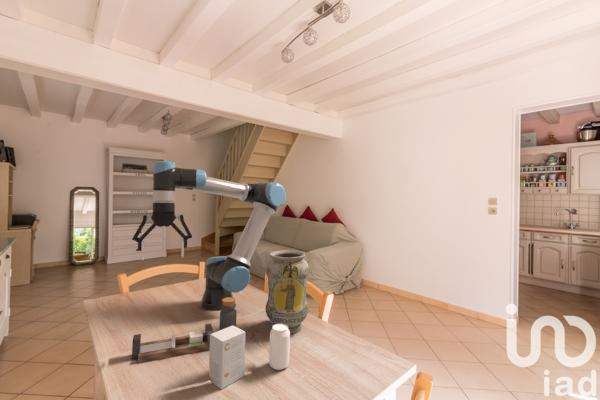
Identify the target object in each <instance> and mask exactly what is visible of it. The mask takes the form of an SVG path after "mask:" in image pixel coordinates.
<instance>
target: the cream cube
mask: <svg viewBox="0 0 600 400" xmlns="http://www.w3.org/2000/svg"><path fill="white" fill-rule="evenodd" d="M188 333H189V334H188V335H189V344H195V343H201V342H203V334H202V333H203V330H197V331H191V332H188Z"/></svg>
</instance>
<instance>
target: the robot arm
mask: <svg viewBox="0 0 600 400" xmlns="http://www.w3.org/2000/svg"><path fill="white" fill-rule="evenodd" d="M152 174H153V175H152V178H153V181H152V182H153V183H152V201H153V203H152V214H151V215H147V214H143V216H142V222H141V223H140V225H139V226H138V228H137V229H136V232H135V233H134V235H133V237H132V238H131V240H132V241H133V242H137V250H138V251H141V254H140V255H141V257H140V260H141V261H144V260H145V240H144V239H146V237H147V236H148V235H149V234H150V233H151V232H152V231H153V230H154V229H155V228H156V227H159V228H162V227H166V228H169V227H170V226H171V228H173V229H174V230H175V231H176V232H177V233H178V235H180V237H182V239H181V250H180V251H181V253H180V254H181V258H184V257H185V249H187V247H188V240H189V239H192V238H193V235H192V233H191V231H190V229H189V228H188V225H187V224H186V222H185V219H184V214H179V215H178V214H177V215H176V211H175V210H176V208H175V207H176V205H175V204H176V203H175V201H176V189H184V190H190V191H196V192H200V193H201V192H202V193H206V194H211V195H212V194H213V195H218V196H222V197H228V198H234V199H239V201H241V202H246V203H249V204H253V210H252V212H251V214H250V216H249V218H248V220H247V223H246V225H245V226H244V228H243V231H242V233H241V235H240V238H239V239H238V240H237V243H236V246H235V247H234V249H233V252H232V253H231V254H229V255H225V256H224V255H222V256H212V257H208V258H207V259H206V263H205V289H204V292H203V295H202V298H201V301H200V307H201V308H202V309H204V310H209V311H219V310H220V311H221V310H223V309H222V308H221V305H222V304H223V303H222V299H224V298H227V297H232V298H234V296H233V293H240V292H241V291H243V290H244V289H246V287H248V285H249V283H250V280H251V273H250V270H251V267H252V264H251V259H252V257H253V255H254V253H255V250H256V248H257V247H258V243H259V242H260V239H261V238H262V235H263V233H264V231H265V228H266V227H267V224H268V222H269V219H270V217H271V215H273V214H275V213H276V212H277V210H278V208H280V207H282V206H283V205H284V204H285V203H286V200H287V192H286V189H285V188H284V186H283V185H282V184H280V183H278V182H273V181H271V182H258V183H251V182H249V183H248V182H242V183H238V182H235V181H231V180H226V179H221V178H215V177H211V176H208V175H207V173H206V171H205V170H204V169H195V168H181V167H176V163H175V162H173V161H168V160H158V161H157V160H156V161H155V162H154V163H153V171H152ZM176 219H177V220H178V221H179V222H180V223H181V225H182V227H183V229H184V231H185V232H186V234H187V235H185V233H184V232H183V231H182V230H181V229H180V228H179V227H178V226H177V225H176V223H174V222H175V220H176ZM149 220H151V221H152V222H153V223H152V224H151V225H150V226H149V227H148V228H147V230H146V231H144V233H143V234H142V235H141V236H140V233H141V231H142V230H143V229H144V227H145V225H146V223H147V222H149ZM139 236H140V237H139Z"/></svg>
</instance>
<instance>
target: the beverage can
mask: <svg viewBox="0 0 600 400" xmlns="http://www.w3.org/2000/svg"><path fill="white" fill-rule="evenodd" d="M290 343H291V334H290V331H289V329H288V326H287V325H285V324H275V325H273V327H272V328H271V330H270V332H269V358H268V362H269V363H268V365H269V367H270V368H272V369H274V370H276V371H282V370H284V369H286V368H287V367H288V366H289V364H290V350H291V349H290V346H291V345H290Z"/></svg>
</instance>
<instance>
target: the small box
mask: <svg viewBox="0 0 600 400" xmlns="http://www.w3.org/2000/svg"><path fill="white" fill-rule="evenodd" d="M208 356H209V359H208V360H209V361H208V363H209V364H208V377H209V378H210V379H209V381H210V382H211V383H212V384H214V386H216V387H218V389H220V390H222V389H225V388H226V387H228V386H230V385H231V384H233V383H234V382H236V381H238V380H240V379H242V378H243V377H245V369H246V368H245V367H246V365H245V364H246V331H245V330H243V329H241V328H239V327H237V326H236V327H235V326H233V325H232V326H230V327H227V328H225V329H222V330H220V331H219V330H218V331H217V330H216V331H214V333H212V334H210V350H209V355H208Z"/></svg>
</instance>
